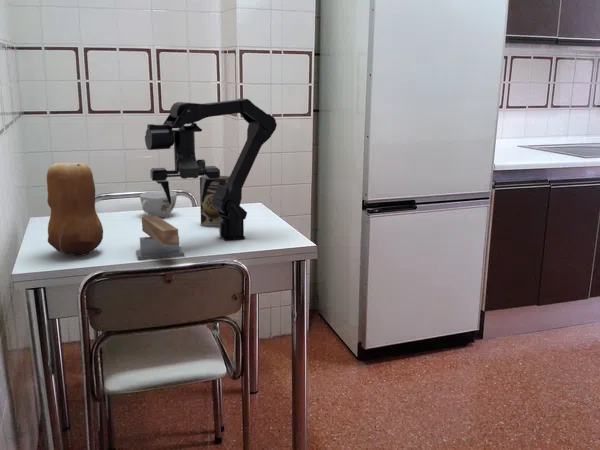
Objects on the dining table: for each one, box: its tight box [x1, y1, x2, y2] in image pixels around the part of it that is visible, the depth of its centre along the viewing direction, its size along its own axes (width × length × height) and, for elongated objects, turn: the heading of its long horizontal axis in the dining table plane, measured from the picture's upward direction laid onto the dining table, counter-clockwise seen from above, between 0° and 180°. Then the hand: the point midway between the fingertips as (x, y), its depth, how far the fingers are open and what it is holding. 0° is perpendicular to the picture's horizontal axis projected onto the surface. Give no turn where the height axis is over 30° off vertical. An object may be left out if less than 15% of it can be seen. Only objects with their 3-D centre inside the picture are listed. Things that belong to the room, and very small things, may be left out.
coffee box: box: [199, 175, 230, 228], centre depth 187 cm, size 9×6×16 cm
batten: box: [141, 215, 180, 246], centre depth 153 cm, size 4×18×4 cm, turn 32°
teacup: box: [139, 190, 178, 218], centre depth 198 cm, size 15×12×8 cm
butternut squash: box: [46, 161, 104, 257], centre depth 152 cm, size 14×13×25 cm
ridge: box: [135, 235, 185, 261], centre depth 154 cm, size 12×6×5 cm, turn 111°
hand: (186, 203), depth 163 cm, fingers open, 9 cm apart
